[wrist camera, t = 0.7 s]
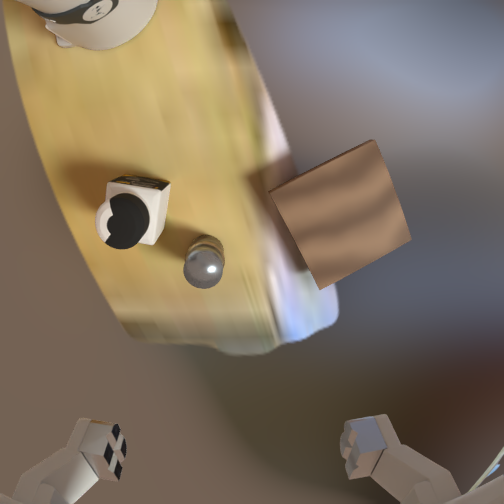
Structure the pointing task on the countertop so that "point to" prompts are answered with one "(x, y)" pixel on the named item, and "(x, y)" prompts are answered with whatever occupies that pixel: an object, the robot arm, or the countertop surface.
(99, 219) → the medicine bottle
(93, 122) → the countertop surface
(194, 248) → the grey metal cylinder
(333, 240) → the walnut stand
